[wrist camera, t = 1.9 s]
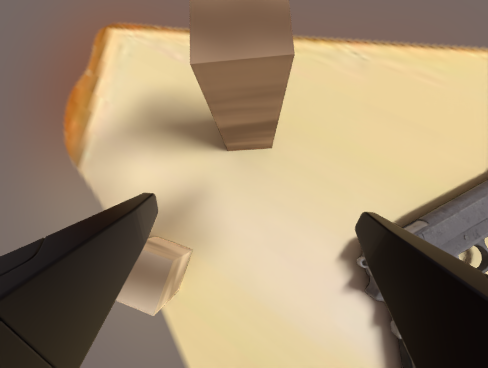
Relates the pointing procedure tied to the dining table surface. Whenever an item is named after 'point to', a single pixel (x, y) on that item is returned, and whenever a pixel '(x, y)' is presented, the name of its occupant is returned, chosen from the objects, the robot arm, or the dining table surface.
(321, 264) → the dining table surface
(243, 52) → the walnut block
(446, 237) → the handgun
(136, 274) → the maple block
